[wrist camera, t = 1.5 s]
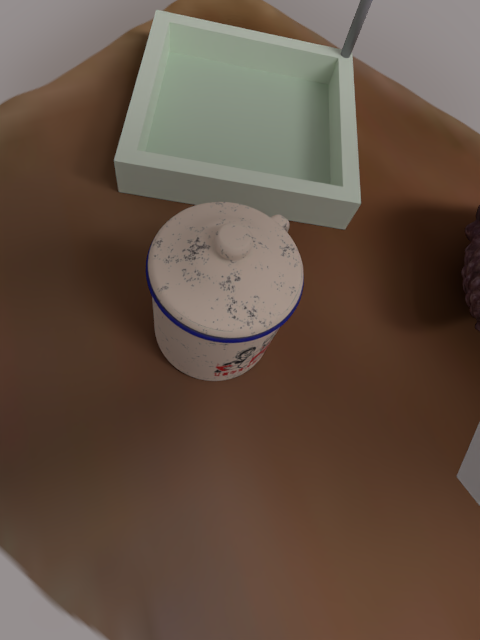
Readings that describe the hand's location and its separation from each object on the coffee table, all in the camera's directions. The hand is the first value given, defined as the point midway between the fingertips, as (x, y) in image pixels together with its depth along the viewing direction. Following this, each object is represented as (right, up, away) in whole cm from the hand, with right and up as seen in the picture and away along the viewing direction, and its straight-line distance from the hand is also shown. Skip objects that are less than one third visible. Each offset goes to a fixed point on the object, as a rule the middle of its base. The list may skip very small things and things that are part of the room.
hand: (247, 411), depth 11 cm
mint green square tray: (0, +21, +30) cm, 36 cm away
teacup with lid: (-1, +3, +21) cm, 22 cm away
